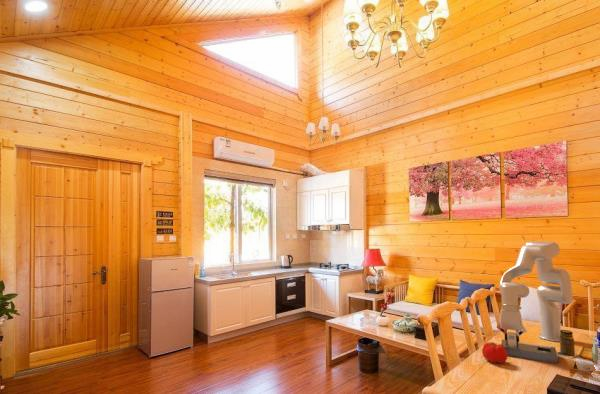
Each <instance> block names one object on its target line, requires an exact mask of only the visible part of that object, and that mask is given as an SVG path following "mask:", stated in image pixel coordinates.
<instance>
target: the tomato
mask: <svg viewBox="0 0 600 394" xmlns="http://www.w3.org/2000/svg"><path fill="white" fill-rule="evenodd" d="M481 353H482V356H483V357H484V358H485V360H487V361H488V362H491V363H495V364H496V363H497V364H502V363H504V362H506V361H507V359H508V355H507V352H506V350H505V348H504V346H503V345H501V343H498V344H497V343H495V342H493V341H490V342H485V343H484V344H483V347H482V351H481Z"/></svg>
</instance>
